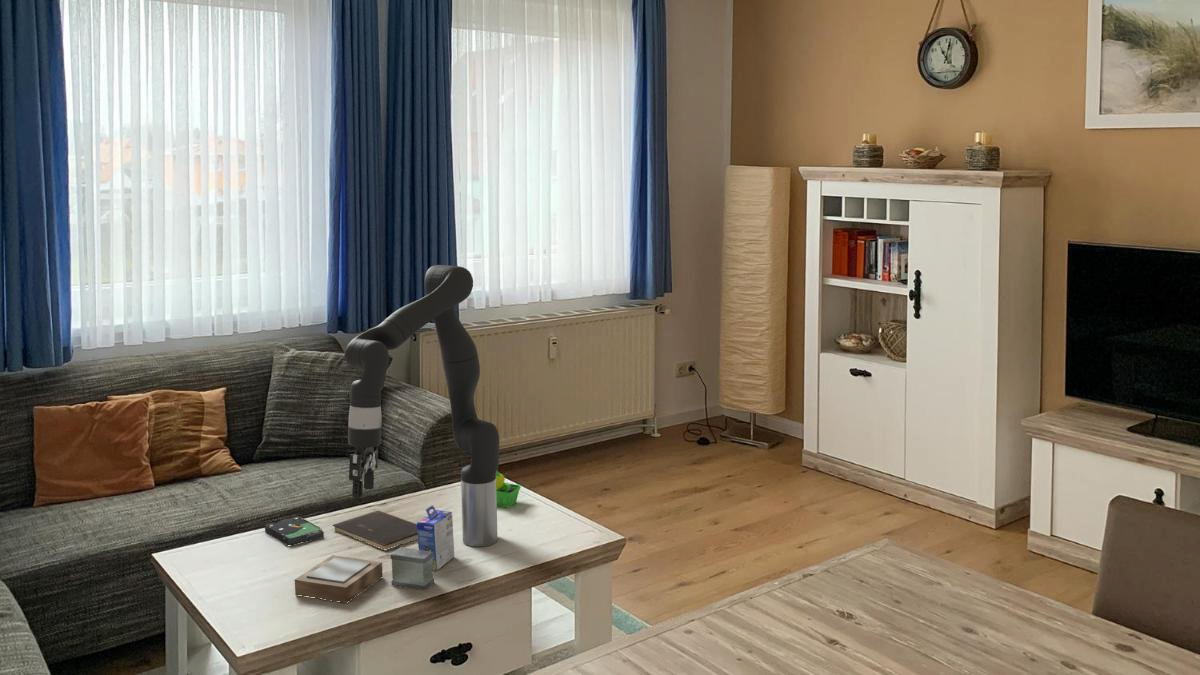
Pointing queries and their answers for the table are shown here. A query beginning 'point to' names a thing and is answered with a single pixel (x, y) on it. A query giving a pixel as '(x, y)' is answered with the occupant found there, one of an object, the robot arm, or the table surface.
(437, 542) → the ink cartridge box
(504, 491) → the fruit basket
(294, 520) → the disk drive
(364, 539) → the hardcover book
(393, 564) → the box
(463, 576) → the table surface
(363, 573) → the walnut stand
